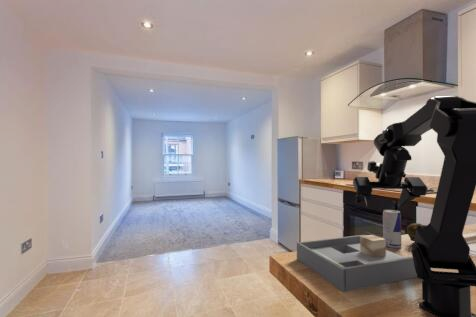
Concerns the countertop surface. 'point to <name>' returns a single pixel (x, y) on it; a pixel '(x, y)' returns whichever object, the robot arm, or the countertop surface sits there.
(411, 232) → the potato
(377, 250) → the birch block
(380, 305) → the countertop surface
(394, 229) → the energy drink
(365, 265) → the box
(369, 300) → the countertop surface
